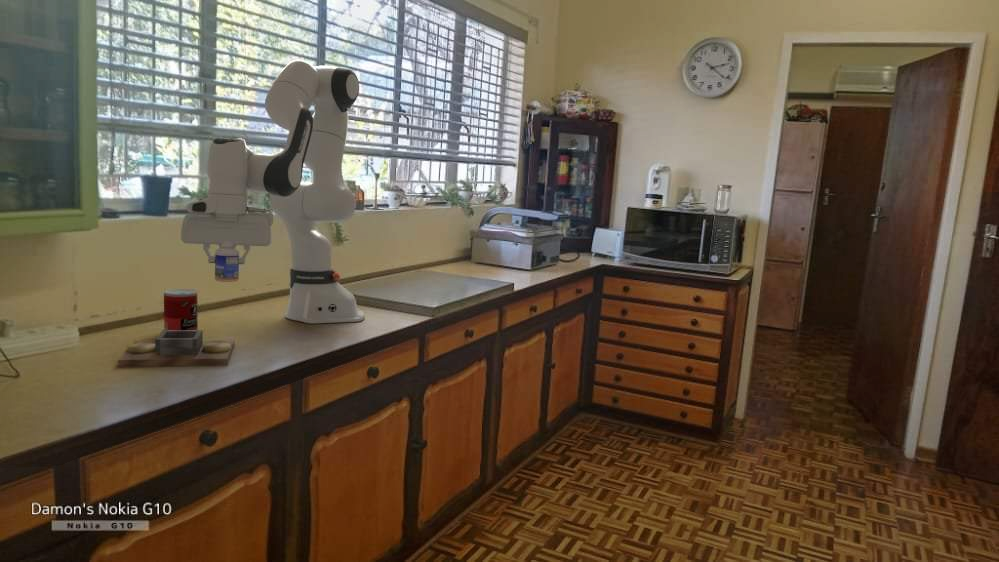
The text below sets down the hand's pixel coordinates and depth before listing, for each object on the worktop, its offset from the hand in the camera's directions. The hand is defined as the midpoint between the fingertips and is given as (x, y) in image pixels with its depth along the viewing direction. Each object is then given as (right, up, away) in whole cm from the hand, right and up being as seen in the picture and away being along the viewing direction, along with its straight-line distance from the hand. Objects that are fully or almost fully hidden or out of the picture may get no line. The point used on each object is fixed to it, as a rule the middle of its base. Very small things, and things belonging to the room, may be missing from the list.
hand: (226, 263), depth 173 cm
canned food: (-16, -18, +10) cm, 26 cm away
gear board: (-7, -21, -9) cm, 24 cm away
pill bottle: (0, -4, +1) cm, 4 cm away
